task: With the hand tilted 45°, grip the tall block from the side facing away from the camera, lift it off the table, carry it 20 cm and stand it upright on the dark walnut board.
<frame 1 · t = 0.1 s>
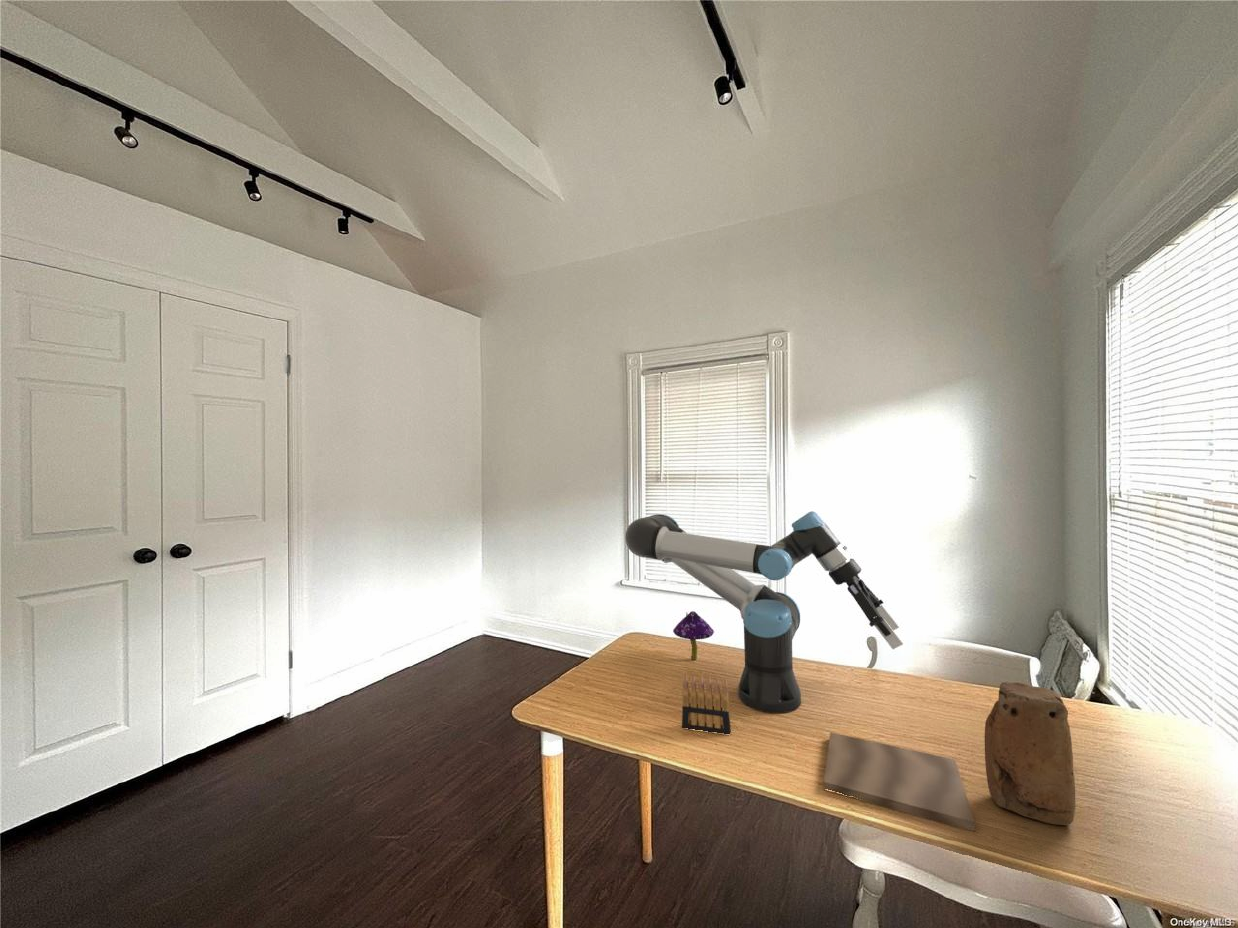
hand: (896, 637, 117), 15 cm above the table, tool tilted 35°, fingers open, 13 cm apart
ammunition clip: (706, 730, 105), on the table
walnut board: (891, 778, 87), on the table
decorative mushroom: (694, 660, 144), on the table
block: (1028, 810, 79), on the table
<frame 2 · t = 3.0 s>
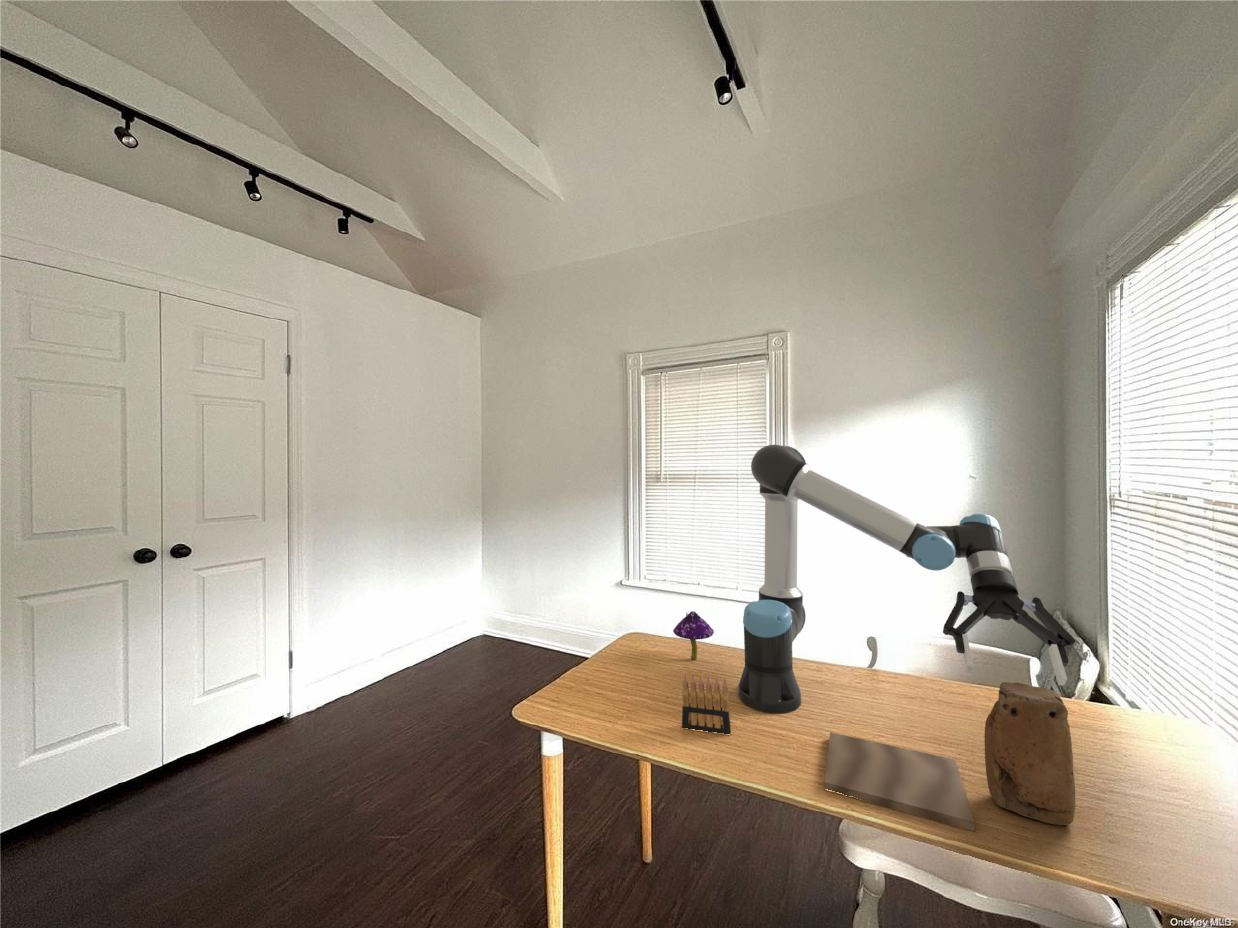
hand: (1014, 675, 87), 19 cm above the table, tool tilted 45°, fingers open, 13 cm apart
nothing on the table moved.
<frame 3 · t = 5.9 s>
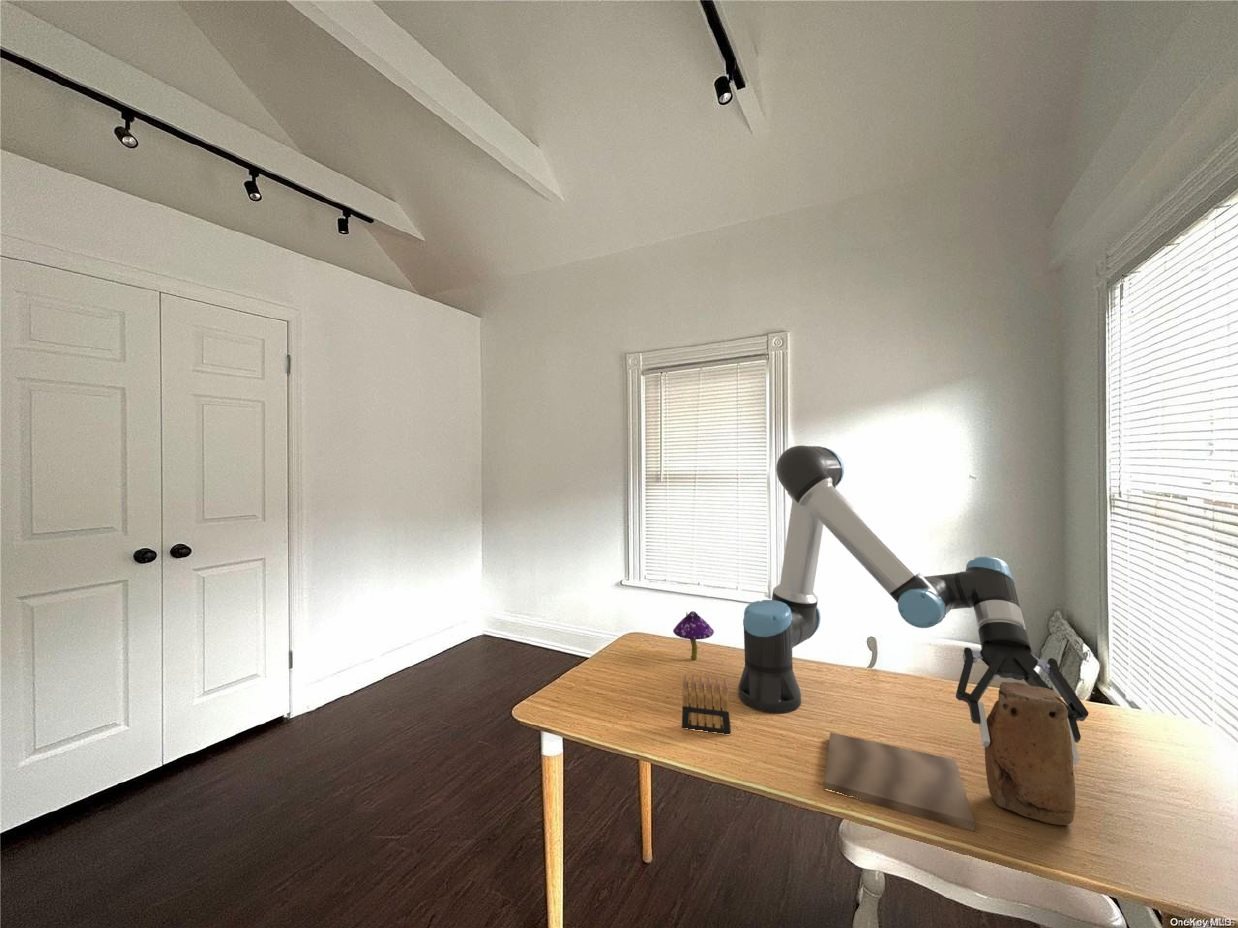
hand: (1029, 752, 78), 10 cm above the table, tool tilted 45°, fingers closed on block, 11 cm apart
block: (1028, 810, 79), on the table, touching gripper
everything else where it was.
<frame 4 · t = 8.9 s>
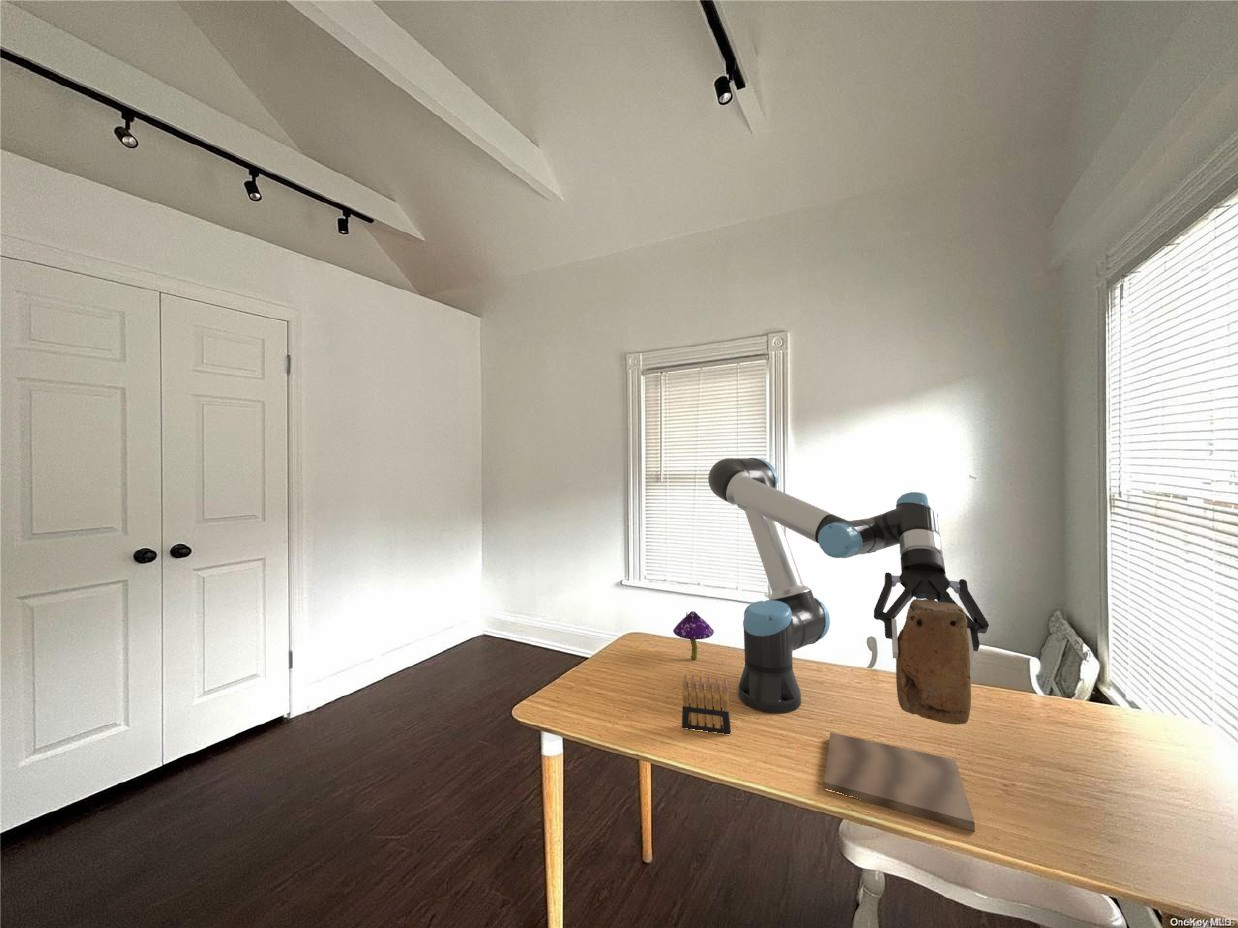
hand: (932, 661, 83), 23 cm above the table, tool tilted 45°, fingers closed on block, 11 cm apart
block: (931, 714, 85), point 13 cm above the table, touching gripper
everything else where it was.
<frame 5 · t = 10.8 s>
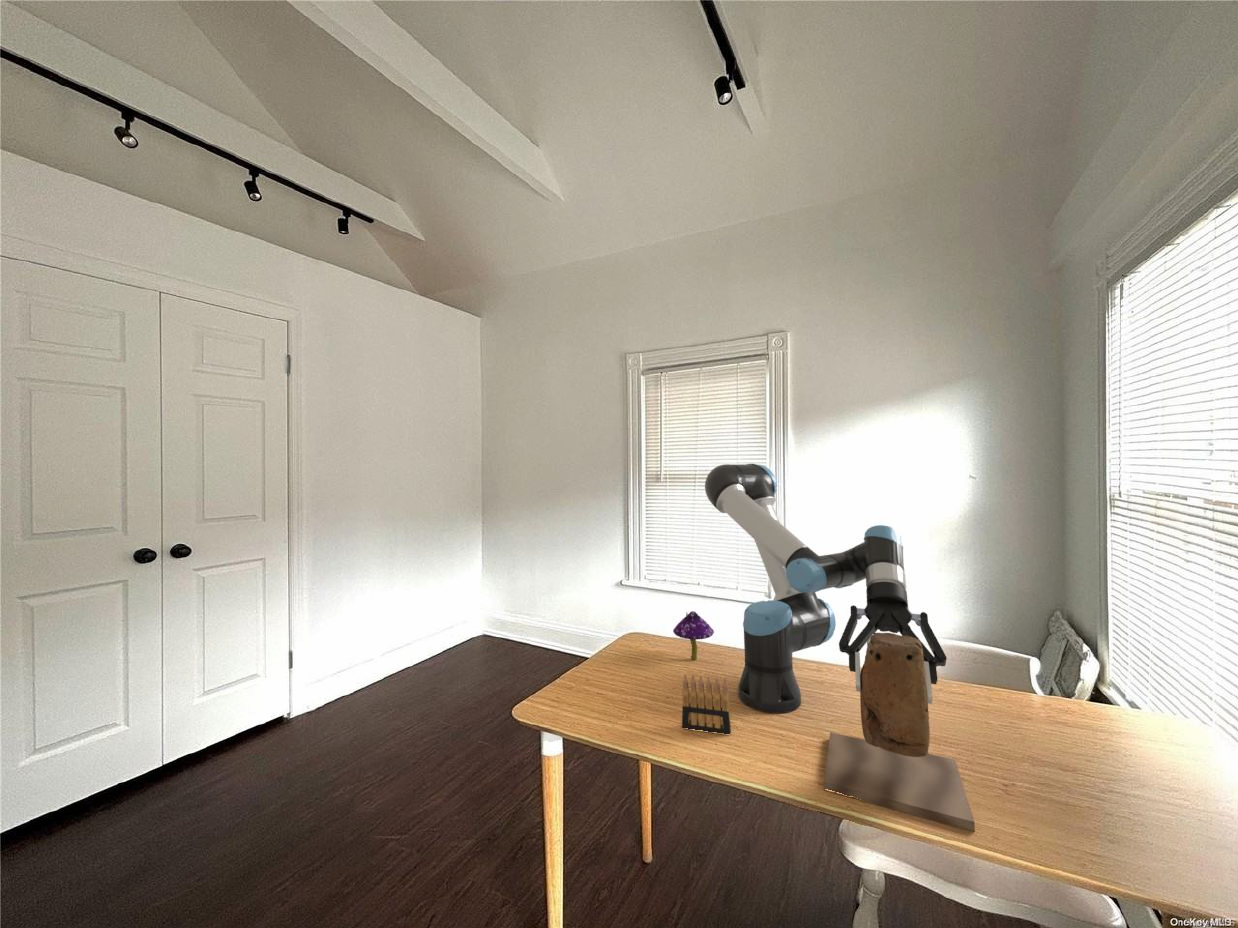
hand: (892, 694, 86), 16 cm above the table, tool tilted 45°, fingers closed on block, 11 cm apart
block: (894, 747, 87), point 6 cm above the table, touching gripper
everything else where it was.
when the fingers open (13 cm above the table, at t = 12.0 s): block drops 1 cm, resting on walnut board.
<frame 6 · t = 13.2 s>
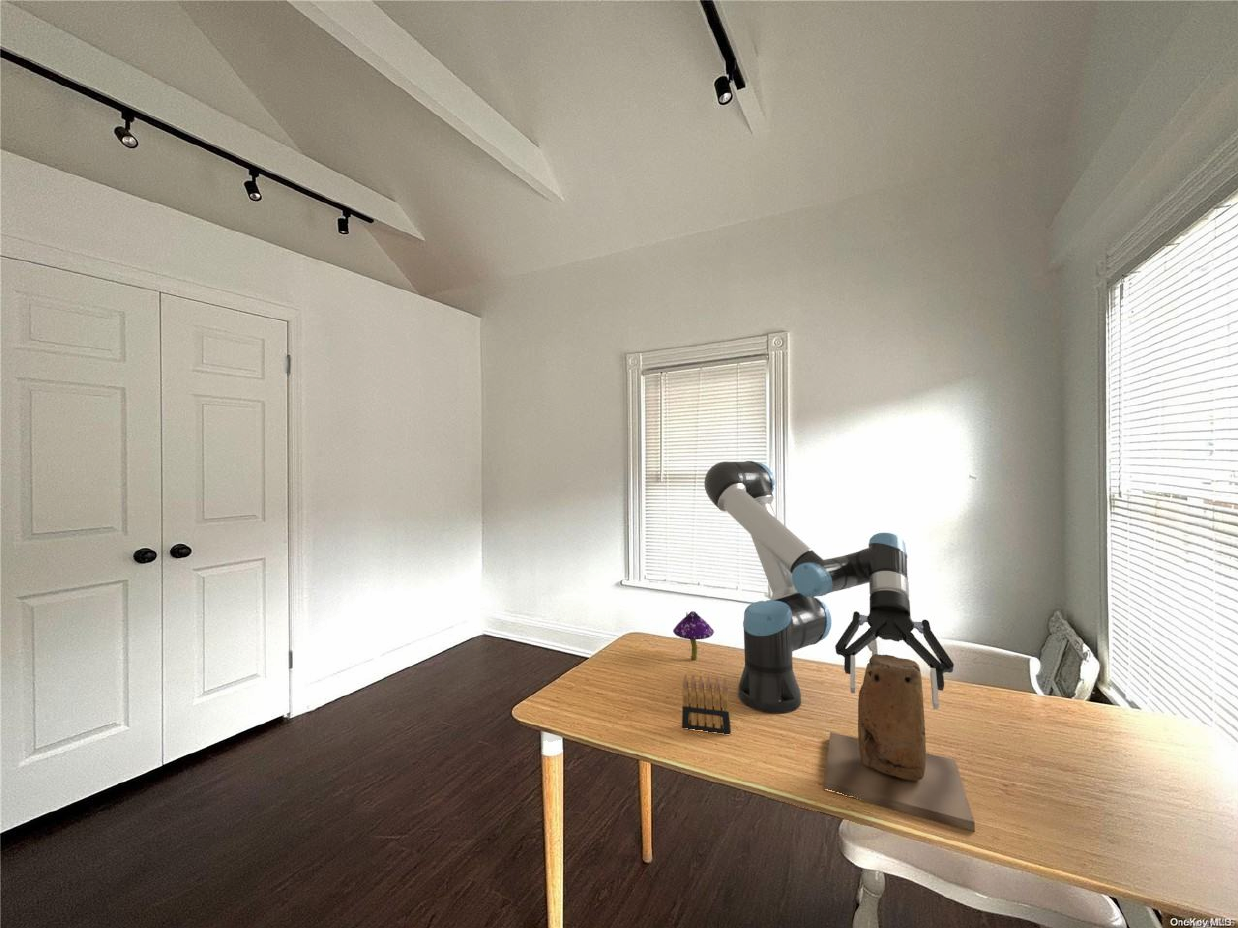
hand: (892, 698, 88), 14 cm above the table, tool tilted 45°, fingers open, 13 cm apart
block: (890, 769, 88), point 2 cm above the table, touching walnut board
everything else where it was.
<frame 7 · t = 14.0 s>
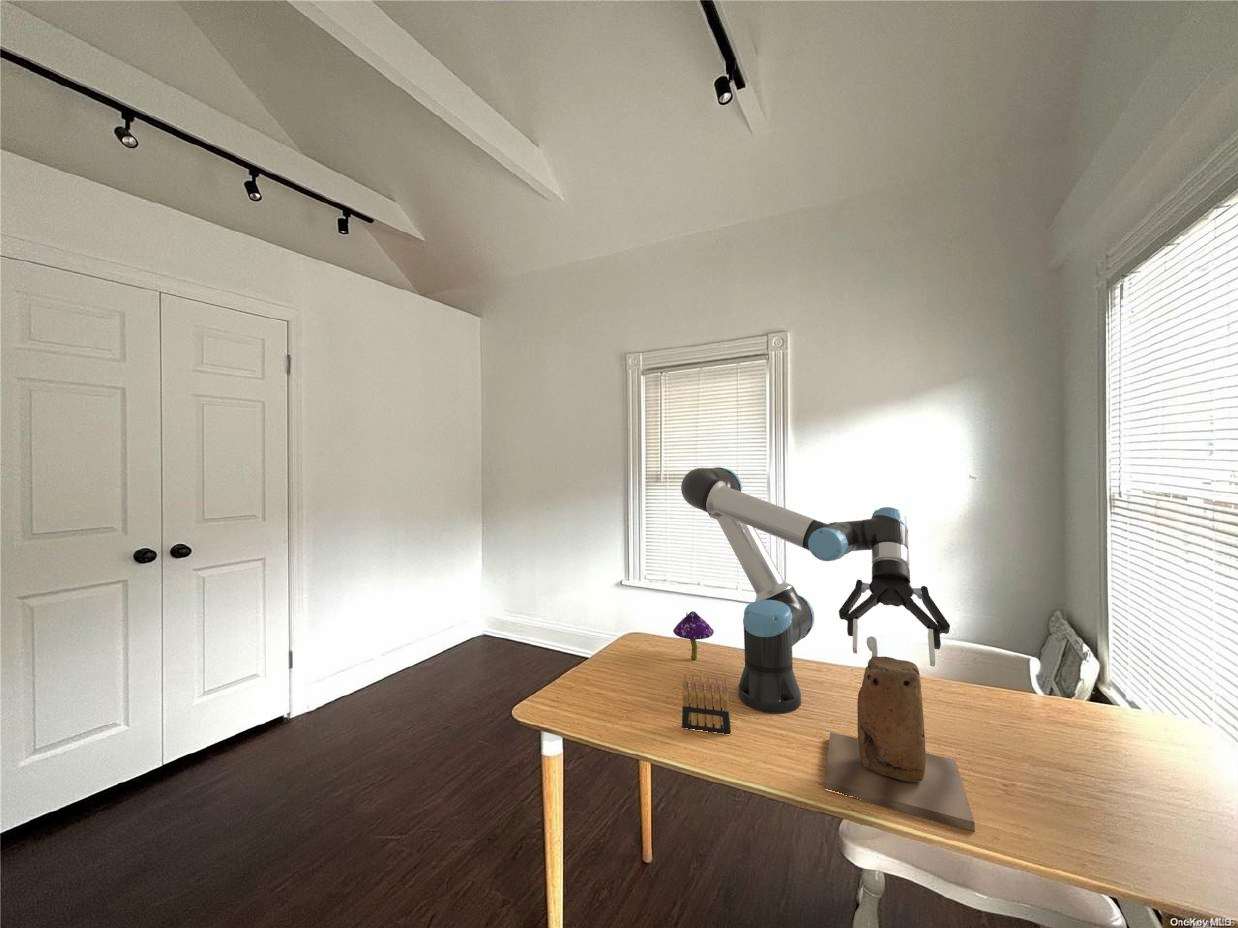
hand: (892, 656, 95), 20 cm above the table, tool tilted 45°, fingers open, 13 cm apart
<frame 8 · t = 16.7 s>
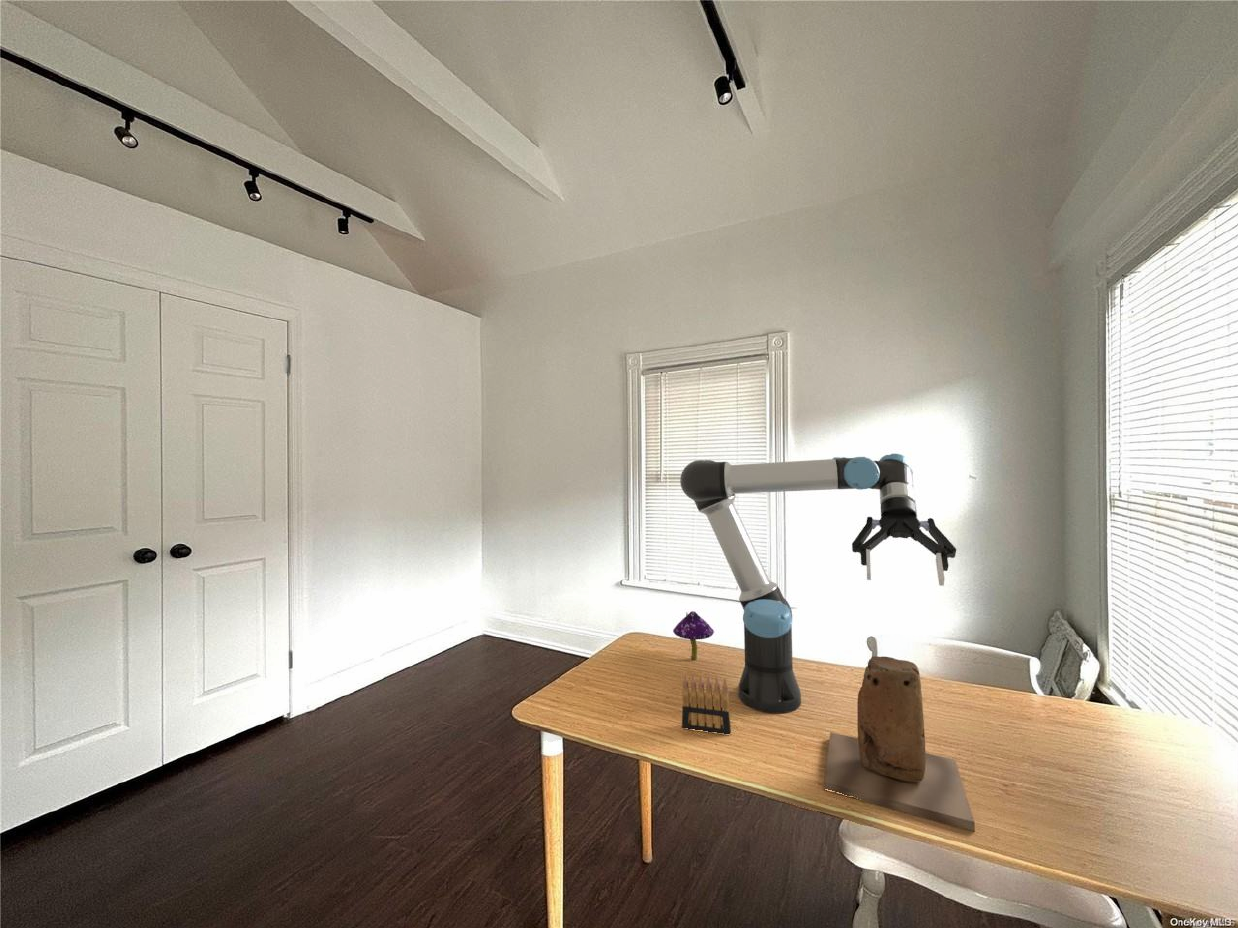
hand: (904, 579, 102), 34 cm above the table, tool tilted 45°, fingers open, 13 cm apart
nothing on the table moved.
at the end: block inside the target area on the walnut board (0.1 cm from its centre), point 1.3 cm above the walnut board's base; block tilted 0°; the gripper is holding nothing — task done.
